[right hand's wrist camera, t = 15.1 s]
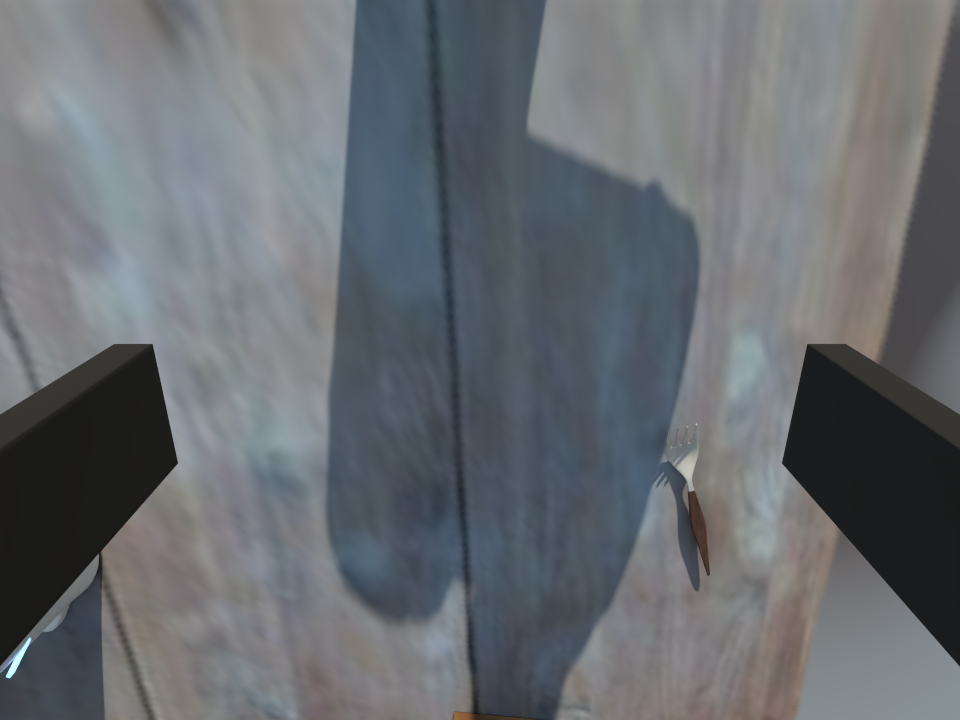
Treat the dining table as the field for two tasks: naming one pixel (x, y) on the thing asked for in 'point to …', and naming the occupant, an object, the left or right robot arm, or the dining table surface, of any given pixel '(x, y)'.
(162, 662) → the dining table surface
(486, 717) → the bar
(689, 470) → the fork
